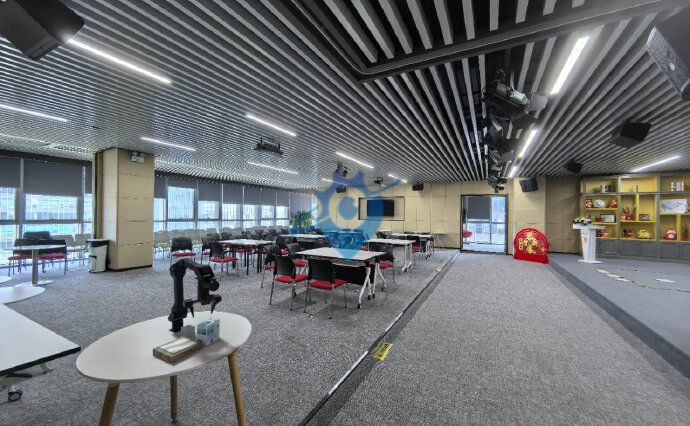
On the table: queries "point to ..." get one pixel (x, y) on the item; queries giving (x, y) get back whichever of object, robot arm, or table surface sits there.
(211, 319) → the light bulb box
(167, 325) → the table surface
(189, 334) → the grey block
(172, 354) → the walnut base
